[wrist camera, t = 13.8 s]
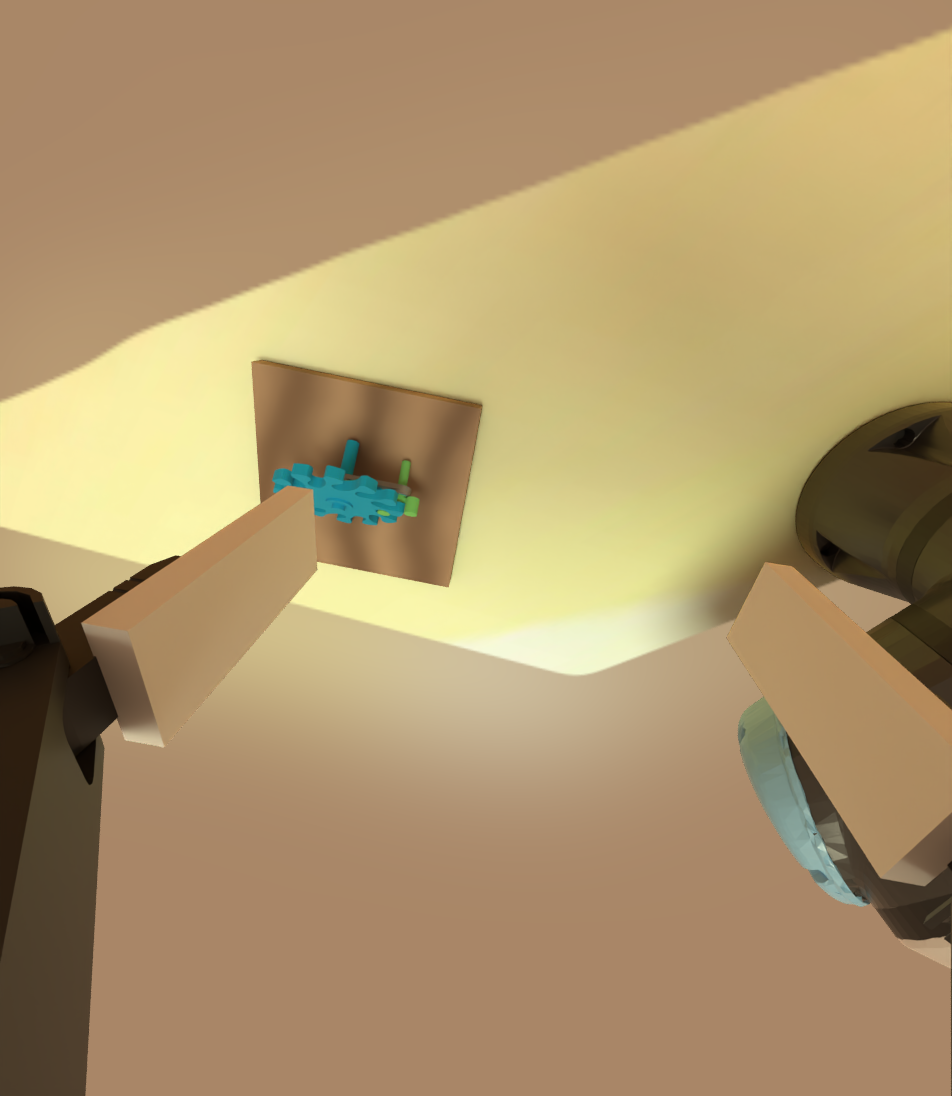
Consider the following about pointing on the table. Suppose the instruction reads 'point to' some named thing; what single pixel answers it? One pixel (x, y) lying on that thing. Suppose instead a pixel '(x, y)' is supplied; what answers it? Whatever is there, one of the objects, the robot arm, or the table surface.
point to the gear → (352, 490)
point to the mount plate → (371, 462)
